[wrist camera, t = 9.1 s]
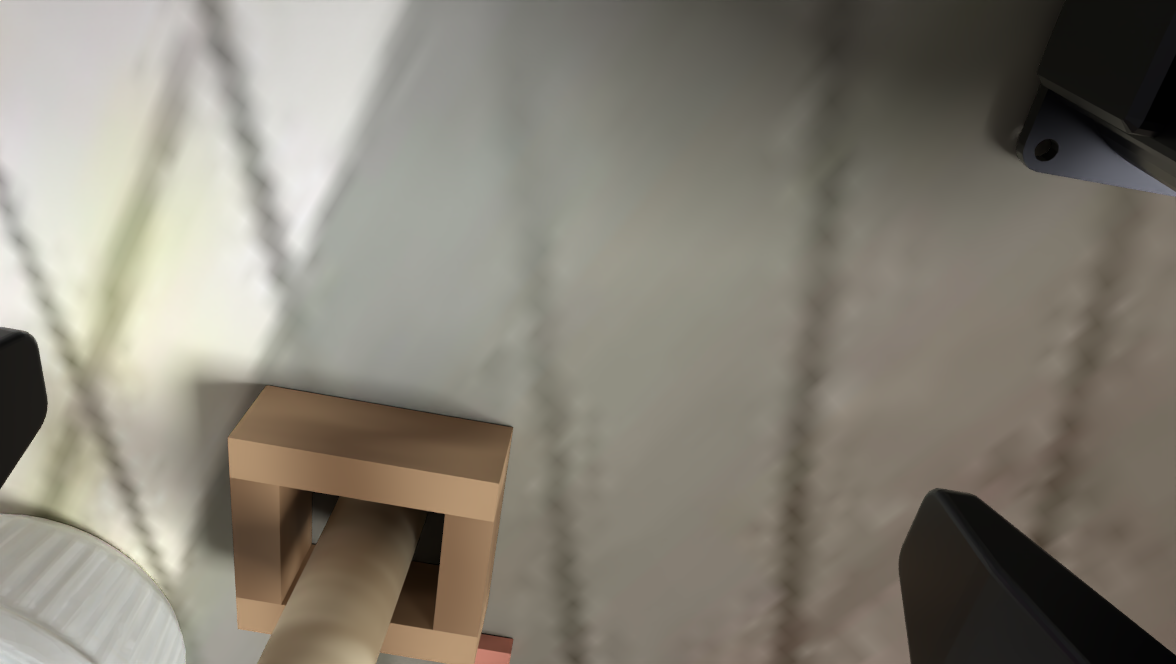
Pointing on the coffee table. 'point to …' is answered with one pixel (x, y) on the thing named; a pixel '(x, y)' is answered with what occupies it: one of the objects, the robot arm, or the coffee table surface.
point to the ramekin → (78, 600)
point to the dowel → (348, 586)
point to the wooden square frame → (379, 474)
